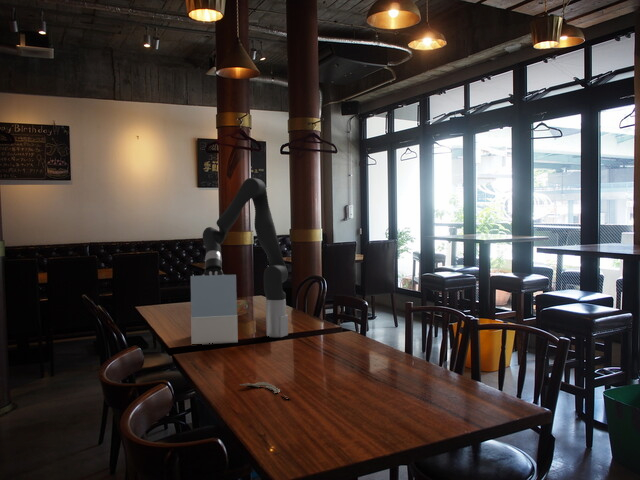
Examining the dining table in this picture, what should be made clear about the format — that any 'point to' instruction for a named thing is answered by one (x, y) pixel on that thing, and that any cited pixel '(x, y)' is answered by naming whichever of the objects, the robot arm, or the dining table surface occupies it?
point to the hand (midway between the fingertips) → (213, 292)
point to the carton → (214, 330)
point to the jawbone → (264, 385)
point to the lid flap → (213, 296)
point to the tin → (242, 307)
